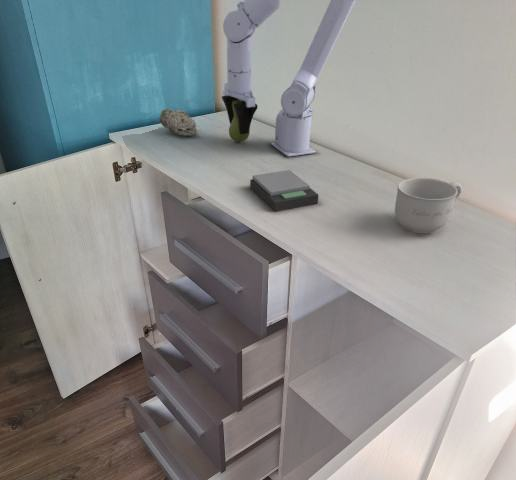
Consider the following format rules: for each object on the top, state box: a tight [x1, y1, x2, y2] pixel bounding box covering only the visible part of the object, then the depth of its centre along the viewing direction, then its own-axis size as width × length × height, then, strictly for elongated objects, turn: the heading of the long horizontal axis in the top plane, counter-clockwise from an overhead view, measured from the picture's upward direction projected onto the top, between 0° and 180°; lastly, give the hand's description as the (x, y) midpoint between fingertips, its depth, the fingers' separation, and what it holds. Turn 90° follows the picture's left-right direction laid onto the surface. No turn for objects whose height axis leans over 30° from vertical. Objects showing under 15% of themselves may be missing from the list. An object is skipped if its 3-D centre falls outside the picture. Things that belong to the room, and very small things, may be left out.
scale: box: [249, 169, 319, 212], centre depth 106 cm, size 12×10×3 cm
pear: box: [228, 99, 251, 143], centre depth 127 cm, size 6×5×10 cm
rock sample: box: [157, 107, 199, 137], centre depth 134 cm, size 10×8×9 cm
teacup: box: [394, 177, 463, 234], centre depth 96 cm, size 14×11×8 cm
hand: (239, 129), depth 129 cm, fingers closed on pear, 5 cm apart
